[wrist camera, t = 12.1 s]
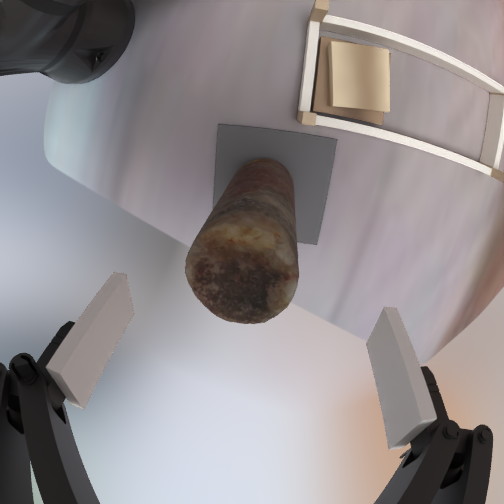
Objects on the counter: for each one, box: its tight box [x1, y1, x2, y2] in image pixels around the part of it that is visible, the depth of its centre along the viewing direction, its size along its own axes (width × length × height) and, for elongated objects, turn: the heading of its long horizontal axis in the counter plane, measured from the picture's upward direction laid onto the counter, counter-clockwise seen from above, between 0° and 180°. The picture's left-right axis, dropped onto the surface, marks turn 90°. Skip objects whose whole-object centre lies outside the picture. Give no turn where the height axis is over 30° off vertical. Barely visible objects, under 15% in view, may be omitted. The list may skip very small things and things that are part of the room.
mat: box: [213, 124, 337, 245], centre depth 35 cm, size 14×14×1 cm
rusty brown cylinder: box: [185, 158, 299, 324], centre depth 26 cm, size 8×7×20 cm
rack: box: [297, 0, 504, 183], centre depth 23 cm, size 28×13×8 cm, turn 85°
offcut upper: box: [327, 41, 390, 112], centre depth 24 cm, size 6×7×3 cm
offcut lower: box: [311, 36, 391, 125], centre depth 27 cm, size 8×9×3 cm
